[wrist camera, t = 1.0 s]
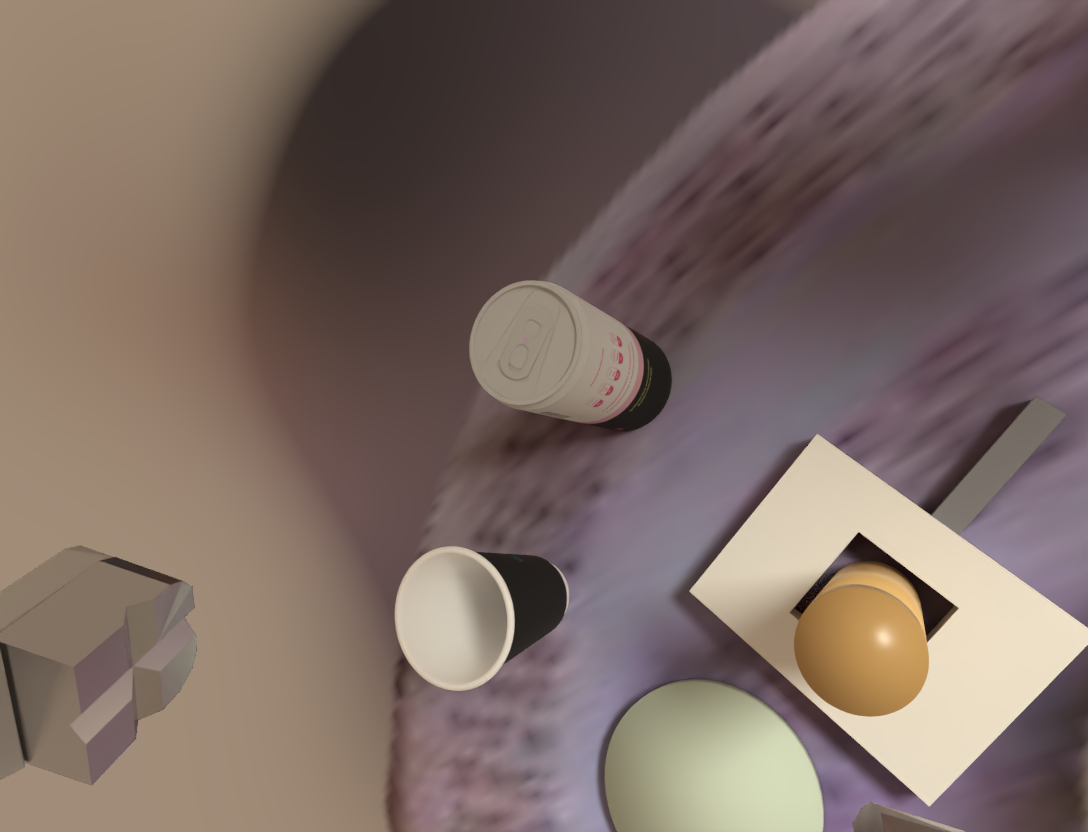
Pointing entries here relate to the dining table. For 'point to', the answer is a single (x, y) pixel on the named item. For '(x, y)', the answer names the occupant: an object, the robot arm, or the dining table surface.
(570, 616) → the dining table surface
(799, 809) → the mat
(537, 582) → the dixie cup
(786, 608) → the socket block
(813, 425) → the dining table surface
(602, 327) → the beverage can
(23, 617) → the robot arm
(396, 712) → the dining table surface
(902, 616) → the plug
